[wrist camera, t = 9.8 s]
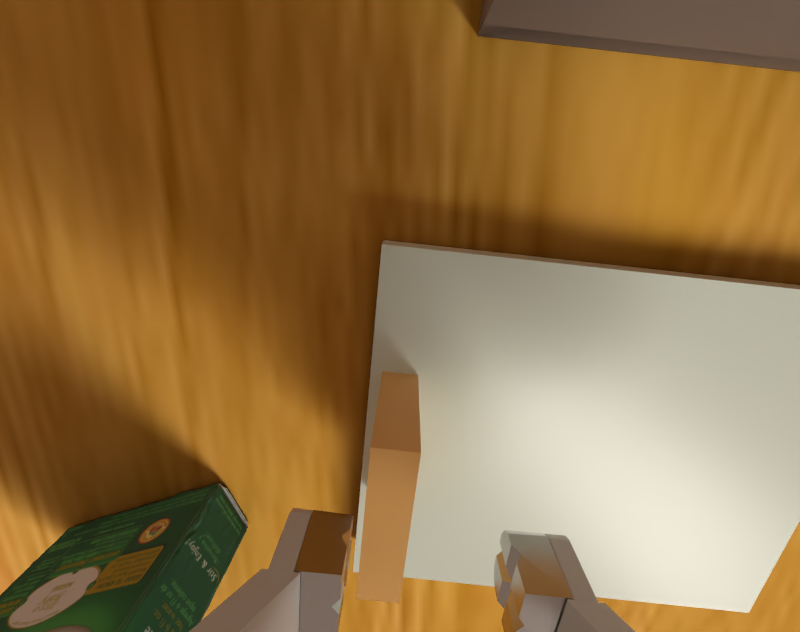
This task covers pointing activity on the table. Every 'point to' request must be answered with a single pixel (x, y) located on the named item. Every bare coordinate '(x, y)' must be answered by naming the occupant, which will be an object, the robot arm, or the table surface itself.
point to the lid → (579, 424)
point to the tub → (657, 28)
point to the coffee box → (131, 569)
